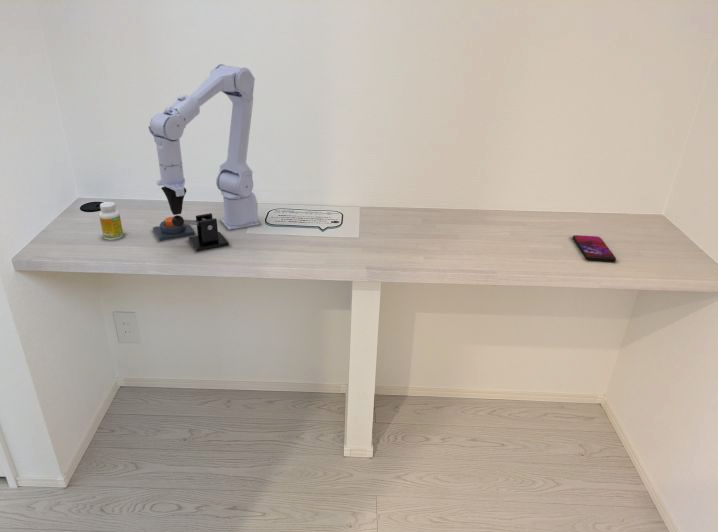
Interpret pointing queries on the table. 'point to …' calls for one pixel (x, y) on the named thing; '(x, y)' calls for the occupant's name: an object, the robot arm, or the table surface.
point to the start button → (169, 222)
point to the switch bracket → (207, 234)
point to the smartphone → (594, 248)
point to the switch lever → (185, 221)
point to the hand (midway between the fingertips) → (176, 213)
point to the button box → (172, 231)
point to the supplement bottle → (110, 221)
